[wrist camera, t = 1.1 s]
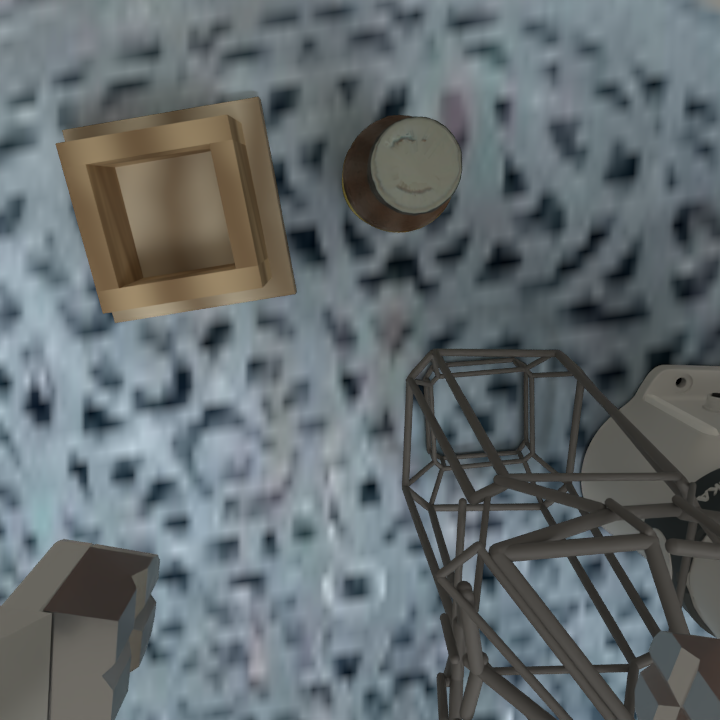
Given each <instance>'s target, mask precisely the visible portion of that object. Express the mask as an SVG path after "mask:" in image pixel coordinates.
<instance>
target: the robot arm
mask: <svg viewBox="0 0 720 720" xmlns="http://www.w3.org/2000/svg"><path fill="white" fill-rule="evenodd" d="M679 378H682V381H681V382H680V384H678V385H676V381H677V379H679ZM619 411H620V412H621V413H622V414H623V415H624V416H625V417H626V418H627V419H628V420H629V421H630V422H631V423H632V424H633V425H634V426H635V427H636V428H637V429H638V430H639V431H640V432H641V433H642V434H643V435H644V436H645V437H646V438H647V439H648V440H649V441H650V442H651V443H652V444H653V445H654V446H655V447H656V448H657V449H658V450H659V451H660V452H661V453H662V454H663V455H664V456H665V457H666V458H667V459H668V460H669V461H670V462H671V463H672V464H673V465H674V466H675V467H676V468H677V469H678V470H679V471H680V472H681V473H682V474H683V475H684V476H685V477H686V479H687V480H688V481H689V483H690V482H695V483H696V493H695V496H696V499H697V501H698V503H699V505H700V507H701V509H706V510H712V511H719V512H720V366H694V365H660V366H657V367H655V368H654V369H653V370H652V371H651V372H650V373H649V374H648V375H647V376H646V378H645V379H644V381H643V382H642V384H641V386H640V387H639V389H638V391H637V393H636V394H635V396H634V397H633V398H632V399H631V400H630V401H629V402H628V403H627V404H626V405H624V406H623V407H622V408H621V409H619ZM581 473H657V472H656V471H655V470H654V469H653V467H652V466H651V465H650V464H649V462H648V461H647V460H646V459H645V458H644V456H643V455H642V454H641V453H640V451H639V450H638V449H637V448H636V447H635V445H634V444H633V443H632V442H631V440H630V439H629V438H628V437H627V436H626V434H625V433H624V432H623V431H622V430H621V428H620V427H619V426H618V425H617V423H616V422H615V421H614V420H613V419H612V417H610V418H609V419H608V420H607V421H606V422H605V423H604V424H603V425H602V426H601V428H600V429H599V430H598V432H597V433H596V434H595V436H594V438H593V439H592V441H591V443H590V445H589V447H588V449H587V452H586V454H585V457H584V461H583V465H582V472H581ZM581 486H582V493H583V497H584V498H587V499H590V500H594V501H598V502H601V503H603V504H605V500H606V499H607V498H612V499H613V500H615V501H616V502H617V503H619V504H620V505H622V506H630V505H645V504H660V503H673V502H672V497H673V496H674V495H675V494H674V493H673V491H672V490H671V489H670V488H669V487H668V485H667V484H666V483H665V482H664V481H581ZM607 508H608V507H607ZM641 520H642V521H644V522H645V523H646V524H648V525H649V526H651V527H652V529H653V530H654V531H655V533H656V535H657V537H658V538H659V542H660V543H659V544H660V547H661V550H662V553H663V556H664V559H665V562H666V565H667V567H668V570H669V573H670V576H671V579H672V582H673V585H674V588H675V591H676V588H677V583H678V577H679V572H680V566H681V561H682V556H677V555H672V554H670V553H668V552H667V551H666V549H665V542H666V541H667V540H668V539H672V538H674V539H683V540H685V539H686V534H687V528H688V523H689V521H684V520H680V519H679V518H677V517H663V518H649V519H641ZM601 527H603V528H604V529H605V530H606V531H608V532H609V533H610V534H612V535H614V536H616V535H627V534H639V533H640V532H639V531H638V530H636V529H635V528H634V527H633V526H631V525H630V524H629V523H627V522H626V521H625V520H620V521H614V522H611V523H608V524H605V525H602V526H601ZM694 541H701V542H710V543H713V542H712V541H711V540H710V538H709V537H708V536H707V534H706V533H705V531H704V530H703V529H702V527H701V526H700V525H699V523H698V524H697V529H696V535H695V540H694ZM637 552H639V553H640V554H641V555H642V556H643V557H645V558H646V555H645V552H644V550H638V551H637ZM646 559H647V558H646ZM159 565H160V559H159V557H158V555H157V554H151V553H145V552H139V551H134V550H128V549H122V548H116V547H110V546H104V545H99V544H95V545H94V544H92V543H86V542H79V541H73V540H66V539H63V540H60V541H57V542H56V543H55V544H54V545H53V546H52V547H51V548H50V550H49V551H48V552H47V553H46V554H45V555H44V557H43V558H42V559H41V560H40V561H39V562H38V564H37V565H36V566H35V567H34V568H33V569H32V571H31V572H30V573H29V574H28V575H27V576H26V578H25V579H24V580H23V581H22V582H21V583H20V585H19V586H18V587H17V588H16V589H15V590H14V592H13V593H12V594H11V595H10V596H9V598H8V599H7V600H6V601H5V602H4V603H3V605H2V606H0V720H115V718H116V715H117V713H118V711H119V709H120V707H121V705H122V703H123V700H124V698H125V696H126V694H127V692H128V685H129V675H130V672H131V671H133V670H135V669H136V668H138V667H139V665H140V663H141V661H142V658H143V656H144V654H145V652H146V648H147V645H148V642H149V639H150V636H151V632H152V628H153V622H154V617H155V609H156V601H155V600H154V598H153V597H152V595H151V593H152V590H153V588H154V586H155V584H156V582H157V580H158V578H159ZM682 606H683V608H684V609H685V610H686V611H687V612H688V613H689V615H690V616H691V617H692V618H693V619H694V620H695V621H696V622H697V623H698V624H699V626H700V627H702V628H703V629H704V630H705V631H707V632H708V633H710V634H711V635H713V636H714V637H716V638H710V637H703V636H696V635H689V634H682V633H675V632H668V631H660V632H659V633H658V634H657V635H656V636H655V637H654V638H653V640H652V643H651V645H650V648H649V650H648V651H649V653H650V656H651V658H652V661H653V663H652V664H651V665H650V666H648V667H647V668H646V669H644V670H643V671H642V672H640V675H639V678H638V681H637V684H636V687H635V711H636V714H637V718H638V720H720V560H713V559H704V558H695V557H691V561H690V566H689V572H688V577H687V582H686V587H685V593H684V598H683V603H682ZM717 638H718V639H717Z"/></svg>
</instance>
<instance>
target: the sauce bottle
mask: <svg viewBox="0 0 720 720" xmlns="http://www.w3.org/2000/svg"><path fill="white" fill-rule="evenodd" d="M461 173H462V152H461V149H460V146H459V144H458V142H457V141H456V139H455V137H454V136H453V134H452V133H451V132H450V131H449V130H448V129H447V128H446V127H445V126H444V125H442V124H441V123H439V122H438V121H436V120H433V119H430V118H427V117H412V116H404V115H393V116H387V117H385V118H383V119H381V120H378V121H376V122H374V123H373V124H371V125H369V126H368V127H367V128H366V129H364V130H363V131H362V132H361V133H360V134H359V135H358V136H357V138H356V139H355V140H354V142H353V143H352V146H351V148H350V149H349V150H348V152H347V155H346V157H345V160H344V165H343V173H342V189H343V194H344V197H345V200H346V202H347V204H348V206H349V207H350V209H351V210H352V211H353V212H354V213H355V215H356V216H358V217H359V218H360V219H361V220H363V221H364V222H366V223H368V224H369V225H371V226H373V227H375V228H378V229H381V230H384V231H388V232H398V233H400V232H409V231H413V230H417V229H420V228H422V227H424V226H426V225H428V224H429V223H431V222H432V221H434V220H435V219H436V218H437V217H438V216H439V215H440V214H441V213H442V212H443V211H444V209H445V208H446V206H447V205H448V203H449V201H450V199H451V196H452V195H453V194H454V192H455V190H456V189H457V187H458V184H459V182H460V179H461Z"/></svg>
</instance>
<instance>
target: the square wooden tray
mask: <svg viewBox="0 0 720 720" xmlns="http://www.w3.org/2000/svg"><path fill="white" fill-rule="evenodd" d="M62 132H63V135H64V139H65V142H62V143H56V147H57V151H58V154H59V158H60V161H61V165H62V168H63V172H64V176H65V179H66V183H67V186H68V190H69V194H70V197H71V201H72V204H73V208H74V211H75V215H76V219H77V222H78V226H79V229H80V233H81V236H82V240H83V244H84V247H85V251H86V254H87V258H88V262H89V265H90V269H91V272H92V276H93V279H94V283H95V287H96V290H97V294H98V297H99V301H100V305H101V308H102V312H103V313H110V312H112V313H113V317H114V321H115V323H118V322H124V321H130V320H137V319H143V318H149V317H155V316H161V315H168V314H174V313H180V312H186V311H193V310H199V309H205V308H211V307H217V306H224V305H230V304H236V303H242V302H248V301H255V300H261V299H267V298H273V297H280V296H286V295H292V294H296V292H297V290H296V285H295V279H294V274H293V269H292V264H291V258H290V253H289V248H288V242H287V237H286V232H285V227H284V221H283V216H282V211H281V205H280V200H279V195H278V189H277V184H276V179H275V174H274V168H273V163H272V158H271V152H270V147H269V142H268V137H267V131H266V126H265V121H264V115H263V110H262V105H261V99H260V98H259V97H254V98H248V99H242V100H236V101H230V102H224V103H218V104H213V105H207V106H201V107H195V108H189V109H183V110H177V111H172V112H166V113H160V114H154V115H148V116H142V117H136V118H131V119H125V120H119V121H113V122H107V123H101V124H95V125H90V126H84V127H78V128H72V129H66V130H62Z"/></svg>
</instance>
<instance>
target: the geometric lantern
mask: <svg viewBox="0 0 720 720" xmlns="http://www.w3.org/2000/svg"><path fill="white" fill-rule="evenodd" d="M442 356H482V357H511V358H501V359H488V360H475V361H462V362H449V363H445V361H444V359H443V357H442ZM514 357H541V358H539V359H537V360H535V361H533V362H532V363H530V364H528V365H526V364H525V363H523V362H521V361H519V360H518V359H516V358H514ZM551 357H556V358H557V359H558V360H559V361H560V362H561V363H562V364H563V365H564V367H565V368H566V369H567V370H568V371H567V372H546V373H532V372H531V371H530V370H529V369H531V368H533V367H535V366H536V365H538V364H540V363H542V362H544V361H546V360H547V359H549V358H551ZM430 361H431V362H432V365H431V366H430V368H429V369H428V371H427V373H426V374H425V376H424V378H423V381H422V380H417V379H415V378H416V377H417V376H418V375H419V374H420V372H421V371H422V370H423V369H424V368H425V367H426V366H427V364H428V363H429V362H430ZM508 362H513V364H514V365H516V366H517V367H515V368H504V369H492V370H480V371H469V372H457V373H451V371H450V369H449V368H448V367H456V366H469V365H482V364H495V363H508ZM438 368H440V370H441V372H442V373H443V374H440V372H439V369H438ZM432 371H433V372H434V373H435V377H434V378H433V379H432V380H431V381H430V380H429V376H430V375H431V373H432ZM513 372H524V440H523V442H522V443H521V444H520V446H519V447H518V449H517V450H512V451H499V452H496V450H495V448H494V446H493V445H492V443H491V441H490V439H489V438H488V436H487V434H486V432H485V431H484V429H483V427H482V425H481V424H480V422H479V420H478V418H477V417H476V415H475V413H474V411H473V410H472V408H471V406H470V404H469V403H468V401H467V399H466V397H465V396H464V394H463V392H462V390H461V389H460V387H459V385H458V383H457V382H456V380H455V377H466V376H478V375H490V374H501V373H513ZM565 376H574V377H575V378H576V379H577V386H576V394H575V402H574V411H573V419H572V427H571V435H570V443H569V451H568V460H567V468H566V473H558V472H557V471H556V470H554V469H553V468H552V467H551V466H550V465H548V464H547V463H546V462H545V461H544V460H542V459H541V458H540V457H539V456H538V455H536V454H535V418H534V378H541V377H565ZM528 377H529V397H530V442H529V439H528ZM443 378H445V379H446V381H447V383H448V385H449V387H450V388H451V390H452V392H453V394H454V396H455V398H456V400H457V401H458V403H459V405H460V407H461V409H462V411H463V413H464V415H465V416H466V418H467V420H468V422H469V424H470V426H471V428H472V429H473V431H474V433H475V435H476V437H477V439H478V441H479V442H480V444H481V446H482V448H483V450H484V452H485V453H473V454H460V455H455V453H454V451H453V449H452V447H451V445H450V444H449V442H448V440H447V438H446V436H445V434H444V433H443V431H442V429H441V427H440V425H439V423H438V421H437V420H436V418H435V416H434V397H433V385H434V384H435V383H436V381H437V380H438V379H443ZM418 385H423V386H424V396H423V394H422V392H421V390H420V389H419V387H418ZM584 388H585V389H586V390H587V391H588V392H589V393H590V394H591V395H592V396H593V397H594V398H595V399H596V400H597V401H598V402H599V404H600V405H601V406H602V407H603V408H604V409H605V410H606V411H607V412H608V414H609V415H610V416H611V417H612V419H613V420H614V421H615V422H616V423H617V425H618V426H619V427H620V428H621V430H622V431H623V432H624V433H625V434H626V436H627V437H628V438H629V439H630V440H631V442H632V443H633V444H634V445H635V447H636V448H637V449H638V450H639V451H640V453H641V454H642V455H643V456H644V458H645V459H646V460H647V461H648V462H649V464H650V465H651V466H652V467H653V469H654V470H655V471H656V472H657V473H573V471H574V463H575V455H576V447H577V439H578V431H579V423H580V415H581V408H582V400H583V392H584ZM413 394H414V395H415V397H416V399H417V401H418V403H419V405H420V407H421V409H422V411H423V413H424V415H425V421H426V441H427V452H428V453H429V454H430V455H431V458H432V461H431V462H430V463H429V464H427V465H426V466H425V467H424V468H423V469H422V470H420V471H419V472H418V473H417V474H416V475H415V476H413V477H412V478H411V479H410V480H409V474H410V452H411V430H412V408H413ZM430 427H431V432H430ZM436 439H437V441H438V443H439V445H440V447H441V449H442V451H443V453H444V455H445V456H441V455H439V454H438V453H436ZM431 444H432V450H431ZM525 445H526V446H527V447H528V449H529V450H530V453H529V454H527V455H526V456H525V457H523V455H522V453H521V451H522V449H523V448H524V447H525ZM505 455H518V457H519V459H512V460H502V461H501V459H500V457H499V456H505ZM479 457H488V459H489V461H490V462H483V463H473V464H463V465H461V464H460V462H459V460H458V459H466V458H479ZM531 457H533V458H534V459H535V460H536V461H538V462H539V463H540V464H541V465H542V466H544V467H545V468H546V469H547V470H548V471H550V472H551V473H531V470H530V468H529V466H528V463H527V461H528V460H529V459H530V458H531ZM437 458H438V459H440V461H441V464H440V463H439V462H438V461H437ZM445 460H447V461H448V463H449V465H450V466H446V463H445ZM518 463H523V465H524V468H525V470H526V473H517V474H509V473H508V471H507V470H506V468H505V466H504V465H508V464H518ZM434 464H435V465H436V466H437V467H438V468H439V469H440V470H439V473H438V476H437V479H436V483H435V486H434V489H433V492H432V496H431V499H430V502H429V503H428V502H427V501H425V500H424V499H423V498H422V497H420V496H419V495H418V494H417V493H416V492H414V491H413V490H412V489H411V488H410V487H409V486H410V485H411V484H412V483H414V482H415V481H416V480H417V479H418V478H419V477H421V476H422V475H423V474H424V473H425V472H426V471H428V470H429V469H430V468H431V467H432V466H433V465H434ZM488 466H493V468H494V469H495V471H496V473H497V475H496V476H494V478H493V481H494V483H492V484H490V485H488V486H486V487H484V488H482V489H480V490H478V491H476V492H475V490H474V488H473V486H472V484H471V482H470V481H469V479H468V477H467V475H466V473H465V471H464V469H469V468H478V467H488ZM449 470H452V471H453V473H454V475H455V477H456V479H457V481H458V483H459V485H460V487H461V489H462V491H463V493H464V495H465V497H466V499H467V500H468V502H469V503H470V504H467V501H466V499H464V498H461V499H460V500H459V504H440V505H434V502H435V499H436V495H437V492H438V489H439V486H440V482H441V479H442V476H443V472H444V471H449ZM549 481H561V482H563V483H564V485H563V486H562V487H561V488H559V489H558V490H554V489H550V488H546V487H543V486H539V485H536V483H535V482H549ZM572 481H664V482H665V483H666V484H667V485H668V487H669V488H670V489H671V490H672V491H673V493H674V494H675V495H674V496H673V497H672V502H673V503H660V504H645V505H630V506H622V505H620V504H619V503H617V502H616V501H615V500H613V499H612V498H607V499H606V500H605V504H603V503H601V502H598V501H594V500H590V499H587V498H583V497H579V495H578V494H577V492H576V490H575V488H574V487H573V485H572ZM528 482H530V483H528ZM508 488H509V489H512V490H516V491H519V492H522V493H526V494H529V495H533V496H536V497H537V500H538V502H539V503H522V504H490V500H491V497H493V496H495V495H497V494H499V493H501V492H503V491H505V490H507V489H508ZM402 490H403V493H404V496H405V499H406V502H407V505H408V507H409V510H410V513H411V516H412V519H413V522H414V524H415V527H416V530H417V533H418V536H419V539H420V541H421V544H422V547H423V550H424V553H425V556H426V558H427V561H428V564H429V567H430V570H431V573H432V575H433V578H434V581H435V584H436V587H437V590H438V592H439V595H440V598H441V601H442V604H443V606H444V609H445V612H446V613H443V614H441V616H440V620H441V624H442V628H443V633H444V637H445V641H446V645H447V650H448V654H449V656H448V660H447V663H446V667H445V670H444V673H439V674H437V695H438V714H439V720H462V719H463V720H472V718H473V716H474V712H475V708H476V705H477V701H478V697H479V694H480V690H481V687H482V683H483V682H485V683H486V684H487V685H488V686H490V687H491V688H492V689H493V690H494V691H496V692H497V693H498V694H499V695H501V696H502V697H503V698H504V699H505V700H507V701H508V702H509V703H510V704H512V705H513V706H514V707H515V708H516V709H518V710H519V711H520V712H521V713H523V714H524V715H525V716H526V718H527V719H528V720H557V719H555V718H554V717H553V716H552V715H550V714H549V713H548V712H547V711H545V710H544V709H543V708H541V707H540V706H539V705H538V704H536V703H535V702H534V701H533V700H531V699H530V698H529V697H528V696H526V695H525V694H524V693H523V692H521V691H520V690H519V689H518V688H516V687H515V686H514V685H513V684H511V683H510V682H509V681H508V680H506V679H505V678H504V677H502V676H501V675H521V676H522V677H523V678H524V680H525V681H526V682H527V683H528V684H529V685H530V686H531V687H532V689H533V690H534V691H535V692H536V693H537V694H538V695H539V697H540V698H541V699H542V700H543V701H544V702H545V703H546V704H547V706H548V707H549V708H550V709H551V710H552V711H553V712H554V713H555V715H556V716H557V717H558V718H559V719H560V720H573V719H572V718H571V717H570V716H569V715H568V713H567V712H566V711H565V710H564V709H563V708H562V707H561V706H560V704H559V703H558V702H557V701H556V700H555V699H554V698H553V697H552V695H551V694H550V693H549V692H548V691H547V690H546V689H545V688H544V687H543V685H542V684H541V683H540V682H539V681H538V680H537V679H536V678H535V676H534V675H533V674H568V673H570V675H571V676H572V677H573V679H574V680H575V681H576V682H577V684H578V685H579V686H580V688H581V689H582V690H583V692H584V693H585V694H586V695H587V697H588V698H589V699H590V701H591V702H592V703H593V705H594V706H595V707H596V709H597V710H598V711H599V712H600V714H601V715H602V716H603V718H604V719H605V720H635V719H634V711H635V687H636V684H637V681H638V674H639V669H642V668H644V667H646V666H649V665H651V664H652V663H653V661H652V658H651V656H650V653H649V652H648V653H646V654H644V655H641V656H639V657H637V658H636V657H635V655H634V654H633V652H632V650H631V648H630V647H629V645H628V643H627V641H626V640H625V638H624V636H623V634H622V633H621V631H620V629H619V627H618V626H617V624H616V622H615V621H614V619H613V617H612V616H611V614H610V612H609V611H608V609H607V607H606V606H605V604H604V602H603V601H602V599H601V597H600V596H599V594H598V592H597V591H596V589H595V587H594V586H593V584H592V582H591V581H590V579H589V577H588V575H587V574H586V572H585V570H584V569H583V567H582V565H581V564H580V562H579V560H578V559H577V557H576V556H582V555H593V554H605V556H606V558H607V560H608V561H609V563H610V565H611V566H612V568H613V570H614V572H615V573H616V575H617V577H618V578H619V580H620V582H621V584H622V585H623V587H624V589H625V590H626V592H627V594H628V596H629V597H630V599H631V601H632V603H633V604H634V606H635V608H636V609H637V611H638V613H639V615H640V616H641V618H642V620H643V621H644V623H645V625H646V626H647V628H648V630H649V632H650V633H651V635H652V637H653V638H654V637H655V636H656V635H657V634H658V633H659V632H660V631H661V630H660V629H659V627H658V626H657V624H656V622H655V621H654V619H653V617H652V616H651V614H650V613H649V611H648V609H647V608H646V606H645V604H644V603H643V601H642V599H641V598H640V596H639V595H638V593H637V591H636V590H635V588H634V586H633V585H632V583H631V581H630V580H629V578H628V576H627V575H626V573H625V571H624V570H623V568H622V567H621V565H620V563H619V562H618V560H617V558H616V557H615V555H614V553H615V552H626V551H638V550H644V552H645V555H646V558H647V561H648V564H649V567H650V570H651V573H652V576H653V579H654V582H655V585H656V588H657V592H658V595H659V598H660V601H661V604H662V607H663V610H664V613H665V616H666V619H667V622H668V625H669V631H668V632H675V633H682V634H689V635H690V633H689V630H688V627H687V624H686V621H685V618H684V615H683V612H682V603H683V598H684V593H685V587H686V582H687V577H688V572H689V566H690V561H691V557H695V558H704V559H713V560H720V512H719V511H712V510H706V509H701V507H700V505H699V503H698V501H697V499H696V496H695V493H696V483H695V482H690V483H689V481H688V480H687V479H686V477H685V476H684V475H683V474H682V473H681V472H680V471H679V470H678V469H677V468H676V467H675V466H674V465H673V464H672V463H671V462H670V461H669V460H668V459H667V458H666V457H665V456H664V455H663V454H662V453H661V452H660V451H659V450H658V449H657V448H656V447H655V446H654V445H653V444H652V443H651V442H650V441H649V440H648V439H647V438H646V437H645V436H644V435H643V434H642V433H641V432H640V431H639V430H638V429H637V428H636V427H635V426H634V425H633V424H632V423H631V422H630V421H629V420H628V419H627V418H626V417H625V416H624V415H623V414H622V413H621V412H620V411H619V410H618V409H617V408H616V407H615V406H614V405H613V404H612V403H611V402H610V401H609V400H608V399H607V398H606V397H605V396H604V395H603V394H602V393H601V392H600V390H599V389H598V388H597V387H596V386H595V385H594V383H593V382H592V381H591V380H590V379H589V378H588V377H587V375H586V374H585V373H584V372H583V370H582V369H581V368H580V367H579V366H578V365H577V364H576V363H575V362H573V361H572V360H571V359H570V358H569V357H568V356H567V355H566V354H564V353H563V352H562V351H560V350H523V349H433V350H431V351H430V352H429V353H427V354H426V355H425V357H424V358H423V359H422V360H421V361H420V362H419V363H418V365H417V366H416V367H415V368H414V369H413V370H412V371H411V373H410V374H409V375H408V377H407V379H406V403H405V427H404V451H403V475H402ZM567 491H568V492H569V494H568V493H566V492H567ZM542 498H543V499H546V500H545V501H544V502H543V500H542ZM414 500H415V501H416V502H417V503H418V504H419V505H421V506H422V507H423V508H425V509H426V510H428V512H429V516H430V519H431V523H432V527H433V530H434V534H435V537H436V541H437V544H438V548H439V551H440V555H441V558H442V562H443V565H444V567H443V568H441V569H439V566H438V564H437V561H436V558H435V556H434V553H433V550H432V548H431V545H430V542H429V540H428V537H427V534H426V532H425V529H424V527H423V524H422V521H421V519H420V516H419V513H418V511H417V508H416V505H415V503H414ZM483 501H484V504H479V503H481V502H483ZM554 502H556V503H560V504H563V505H566V506H570V507H573V508H576V509H578V510H579V512H580V513H581V515H582V516H580V517H577V518H574V519H571V520H568V521H564V522H561V523H558V524H556V522H555V520H554V519H553V517H552V515H551V514H550V512H549V510H548V509H547V508H548V507H549V506H551V505H552V504H553V503H554ZM607 507H608V508H607ZM503 510H541V512H542V514H543V515H544V517H545V519H546V521H547V522H548V524H549V527H546V528H542V529H539V530H536V531H533V532H530V533H527V534H524V535H521V536H517V537H514V538H511V539H508V540H505V541H502V542H499V543H495V544H493V545H492V546H491V547H490V548H489V553H488V552H487V551H486V549H485V547H486V537H487V528H488V519H489V511H503ZM436 511H458V524H457V541H456V557H455V558H454V559H453V560H452V561H451V560H450V557H449V554H448V551H447V548H446V544H445V541H444V538H443V535H442V531H441V528H440V525H439V521H438V518H437V515H436ZM466 511H483V513H482V521H481V530H480V539H479V542H475V543H474V544H473V545H471V546H470V547H469V548H467V549H466V550H465V551H464V536H465V521H466ZM589 512H590V514H589ZM663 517H677V518H679V519H680V520H684V521H689V523H688V528H687V534H686V539H685V540H683V539H674V538H672V539H668V540H667V541H666V542H665V549H666V551H667V552H668V553H670V554H672V555H677V556H682V561H681V566H680V572H679V577H678V583H677V588H676V591H675V588H674V585H673V582H672V579H671V576H670V573H669V570H668V567H667V565H666V562H665V559H664V556H663V553H662V550H661V547H660V544H659V543H660V542H659V538H658V537H657V535H656V533H655V531H654V530H653V529H652V527H651V526H649V525H648V524H646V523H645V522H644V521H642V520H641V519H649V518H663ZM620 520H625V521H626V522H627V523H629V524H630V525H631V526H633V527H634V528H635V529H636V530H638V531H639V532H640V533H639V534H627V535H616V536H604V537H603V535H602V534H601V532H600V530H599V529H598V527H600V526H602V525H605V524H608V523H611V522H614V521H620ZM698 523H699V525H700V526H701V527H702V529H703V530H704V531H705V533H706V534H707V536H708V537H709V538H710V540H711V541H712V542H713V543H710V542H701V541H694V540H695V535H696V529H697V524H698ZM588 530H591V532H592V534H593V536H594V537H592V538H580V539H568V540H566V539H565V538H567V537H570V536H573V535H576V534H579V533H582V532H585V531H588ZM475 554H478V556H477V565H476V573H475V582H474V591H472V587H471V585H470V583H468V582H467V581H462V567H463V564H464V563H465V562H466V561H467V560H469V559H470V558H471V557H473V556H474V555H475ZM559 557H567V558H568V559H569V561H570V563H571V564H572V566H573V568H574V570H575V571H576V573H577V575H578V577H579V578H580V580H581V582H582V584H583V585H584V587H585V589H586V591H587V592H588V594H589V596H590V598H591V599H592V601H593V603H594V605H595V606H596V608H597V610H598V612H599V613H600V615H601V617H602V619H603V620H604V622H605V624H606V626H607V627H608V629H609V631H610V633H611V634H612V636H613V638H614V639H615V641H616V643H617V645H618V646H619V648H620V650H621V651H622V653H623V655H624V657H625V658H626V660H627V662H628V663H629V664H611V665H592V664H591V662H590V661H589V660H588V659H587V657H586V656H585V655H584V653H583V652H582V651H581V650H580V648H579V647H578V646H577V644H576V643H575V642H574V641H573V639H572V638H571V637H570V635H569V634H568V633H567V632H566V630H565V629H564V628H563V626H562V625H561V624H560V623H559V621H558V620H557V619H556V617H555V616H554V615H553V614H552V612H551V611H550V610H549V608H548V607H547V606H546V605H545V603H544V602H543V601H542V599H541V598H540V597H539V596H538V594H537V593H536V592H535V590H534V589H533V588H532V587H531V585H530V584H529V583H528V581H527V580H526V579H525V578H524V576H523V575H522V574H521V573H520V571H519V570H518V569H517V567H516V566H515V565H514V564H513V562H514V561H526V560H537V559H548V558H559ZM484 563H485V564H486V565H487V567H488V568H489V569H490V571H491V572H492V573H493V575H494V576H495V577H496V578H497V580H498V581H499V582H500V584H501V585H502V586H503V588H504V589H505V590H506V591H507V593H508V594H509V595H510V597H511V598H512V599H513V601H514V602H515V603H516V604H517V606H518V607H519V608H520V610H521V611H522V612H523V614H524V615H525V616H526V617H527V619H528V620H529V621H530V623H531V624H532V625H533V627H534V628H535V629H536V630H537V632H538V633H539V634H540V636H541V637H542V638H543V640H544V641H545V642H546V643H547V645H548V646H549V647H550V649H551V650H552V651H553V653H554V654H555V655H556V656H557V658H558V659H559V660H560V662H561V663H562V664H563V666H532V667H526V666H525V665H524V664H523V663H522V662H521V661H520V660H519V659H518V657H517V656H516V655H515V654H514V653H513V652H512V651H511V650H510V648H509V647H508V646H507V645H506V644H505V643H504V642H503V641H502V639H501V638H500V637H499V636H498V635H497V634H496V633H495V632H494V631H493V629H492V628H491V627H490V626H489V625H488V624H487V623H486V622H485V620H484V619H483V618H482V617H481V616H480V615H479V614H478V611H479V602H480V593H481V583H482V574H483V565H484ZM454 570H455V573H454ZM446 577H447V578H446ZM450 596H451V597H452V598H453V603H452V601H451V598H450ZM479 629H480V630H481V631H482V632H483V633H484V634H485V636H486V637H487V638H488V639H489V640H490V641H491V642H492V643H493V645H494V646H495V647H496V648H497V649H498V650H499V651H500V652H501V654H502V655H503V656H504V657H505V658H506V659H507V660H508V662H509V663H510V664H511V665H512V666H513V667H492V666H491V665H490V664H489V663H488V656H487V655H486V653H484V652H482V647H481V641H480V634H479ZM464 666H465V667H466V668H467V669H469V670H470V673H469V677H468V681H467V685H466V688H465V692H464V696H463V677H464ZM607 672H628V676H627V685H626V693H625V701H624V705H623V703H622V702H621V701H620V700H619V698H618V697H617V696H616V694H615V693H614V692H613V691H612V689H611V688H610V687H609V685H608V684H607V683H606V682H605V680H604V679H603V678H602V676H601V675H600V674H599V673H607ZM446 687H450V694H449V718H448V704H447V691H446ZM462 699H463V700H462Z"/></svg>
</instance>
